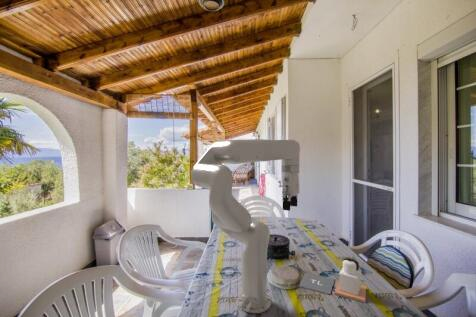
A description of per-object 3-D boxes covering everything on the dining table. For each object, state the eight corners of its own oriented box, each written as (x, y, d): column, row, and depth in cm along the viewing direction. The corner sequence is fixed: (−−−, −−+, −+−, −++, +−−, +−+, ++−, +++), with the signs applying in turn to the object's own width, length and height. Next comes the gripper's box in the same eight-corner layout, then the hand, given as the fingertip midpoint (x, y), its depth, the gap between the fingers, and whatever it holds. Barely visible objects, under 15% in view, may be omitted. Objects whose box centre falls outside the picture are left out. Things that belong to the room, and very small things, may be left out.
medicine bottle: (343, 282, 105) (343, 255, 105) (361, 288, 101) (361, 259, 100) (338, 289, 99) (338, 260, 99) (357, 296, 95) (358, 265, 95)
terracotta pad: (365, 302, 92) (365, 300, 92) (334, 294, 98) (334, 292, 98) (366, 288, 102) (366, 286, 102) (338, 281, 107) (338, 279, 107)
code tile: (330, 294, 98) (330, 294, 98) (298, 286, 104) (298, 285, 104) (334, 280, 109) (334, 279, 109) (305, 273, 115) (305, 272, 115)
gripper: (292, 170, 98) (292, 213, 98) (304, 168, 113) (304, 205, 113) (275, 170, 102) (274, 210, 102) (288, 168, 117) (288, 203, 117)
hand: (290, 208), depth 107 cm, fingers open, 9 cm apart
